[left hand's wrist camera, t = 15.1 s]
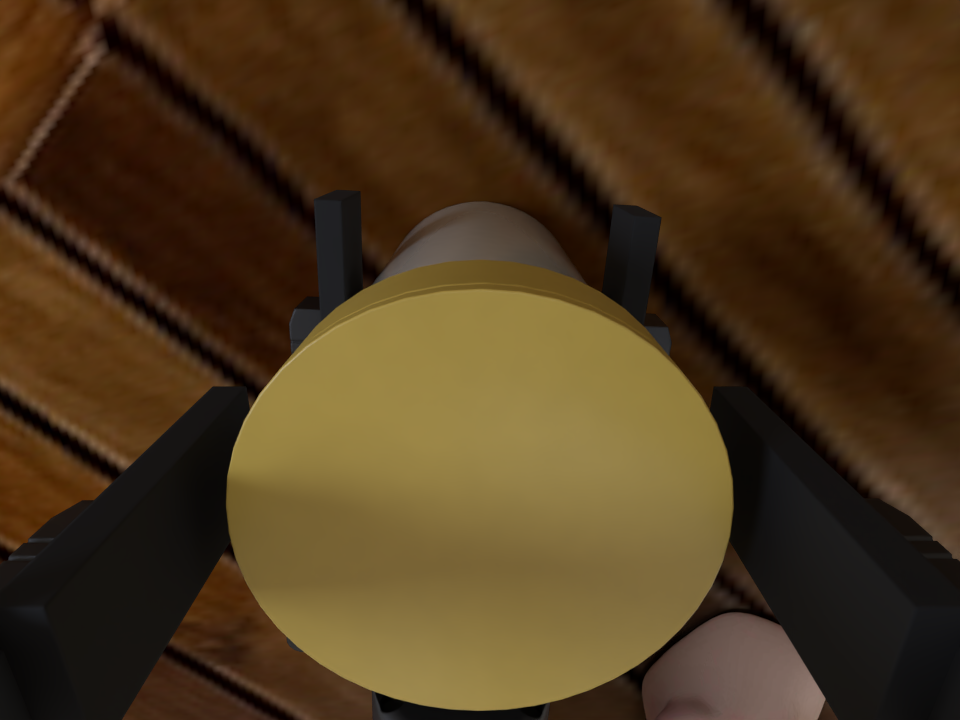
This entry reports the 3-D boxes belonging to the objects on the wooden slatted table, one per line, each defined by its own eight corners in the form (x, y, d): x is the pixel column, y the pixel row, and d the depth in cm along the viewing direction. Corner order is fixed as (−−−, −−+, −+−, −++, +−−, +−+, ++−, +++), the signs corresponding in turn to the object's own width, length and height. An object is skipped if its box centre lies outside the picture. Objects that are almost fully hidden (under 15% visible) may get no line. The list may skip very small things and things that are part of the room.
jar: (612, 288, 25) (785, 494, 11) (488, 415, 27) (497, 722, 13) (469, 158, 23) (453, 201, 9) (348, 306, 25) (182, 529, 11)
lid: (619, 182, 10) (654, 195, 8) (734, 559, 13) (781, 638, 11) (185, 360, 12) (120, 410, 9) (381, 667, 15) (365, 756, 13)
